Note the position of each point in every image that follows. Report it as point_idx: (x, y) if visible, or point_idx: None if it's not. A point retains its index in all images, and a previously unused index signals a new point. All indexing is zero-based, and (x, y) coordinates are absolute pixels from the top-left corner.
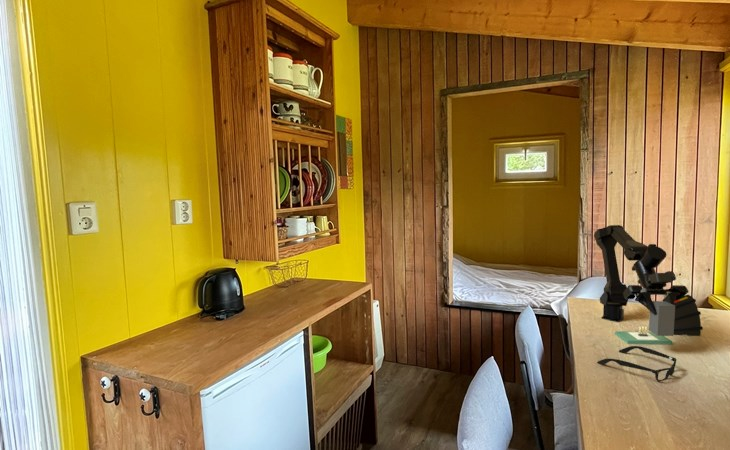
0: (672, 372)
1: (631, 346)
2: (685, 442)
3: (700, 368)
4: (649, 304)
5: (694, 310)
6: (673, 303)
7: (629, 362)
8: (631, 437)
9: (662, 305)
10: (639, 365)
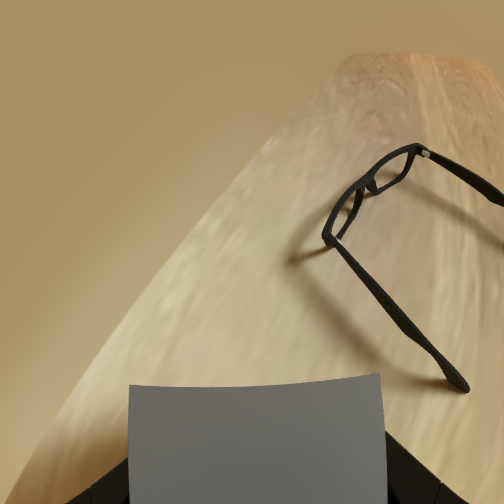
0: (340, 233)
1: (449, 363)
2: (396, 54)
3: (219, 283)
4: (438, 494)
5: None
6: (87, 496)
7: (479, 177)
8: (451, 62)
9: (319, 392)
10: (455, 164)
